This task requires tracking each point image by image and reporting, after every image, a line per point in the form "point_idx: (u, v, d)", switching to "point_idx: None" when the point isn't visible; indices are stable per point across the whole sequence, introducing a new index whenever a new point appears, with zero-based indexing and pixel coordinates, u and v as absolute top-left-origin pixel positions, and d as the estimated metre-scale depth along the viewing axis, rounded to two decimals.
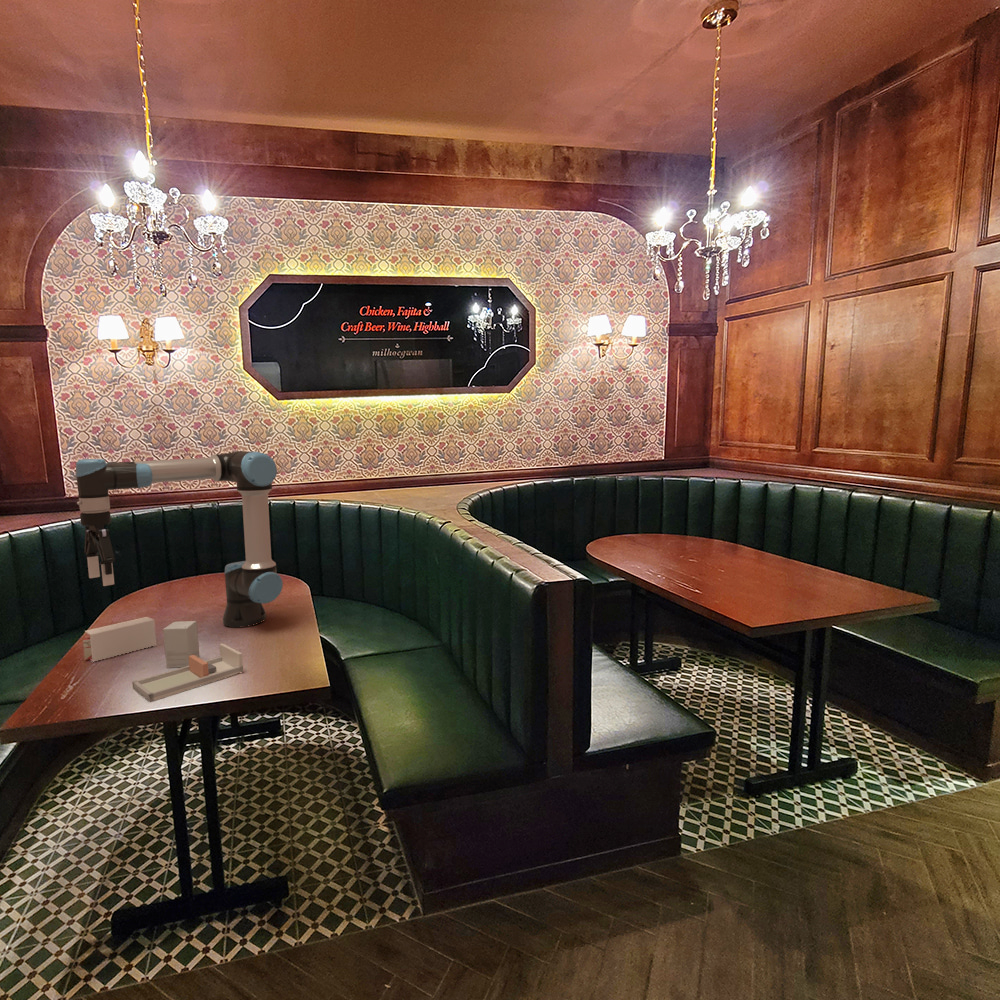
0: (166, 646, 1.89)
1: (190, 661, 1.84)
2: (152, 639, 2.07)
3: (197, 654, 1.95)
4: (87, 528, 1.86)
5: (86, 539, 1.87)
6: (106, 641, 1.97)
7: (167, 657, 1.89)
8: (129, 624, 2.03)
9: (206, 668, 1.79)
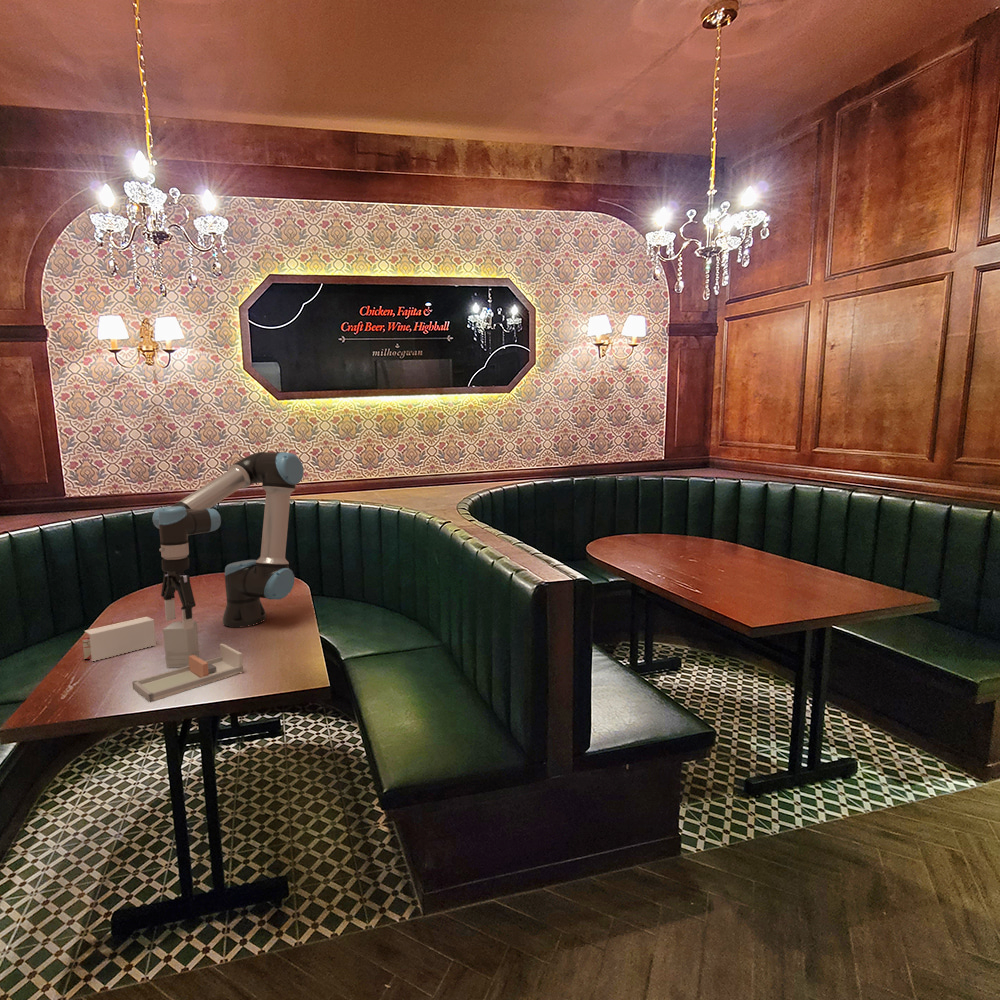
0: (166, 646, 1.89)
1: (190, 661, 1.84)
2: (152, 639, 2.07)
3: (197, 654, 1.95)
4: (166, 572, 1.93)
5: (164, 583, 1.94)
6: (106, 641, 1.97)
7: (167, 657, 1.89)
8: (129, 624, 2.03)
9: (206, 668, 1.79)
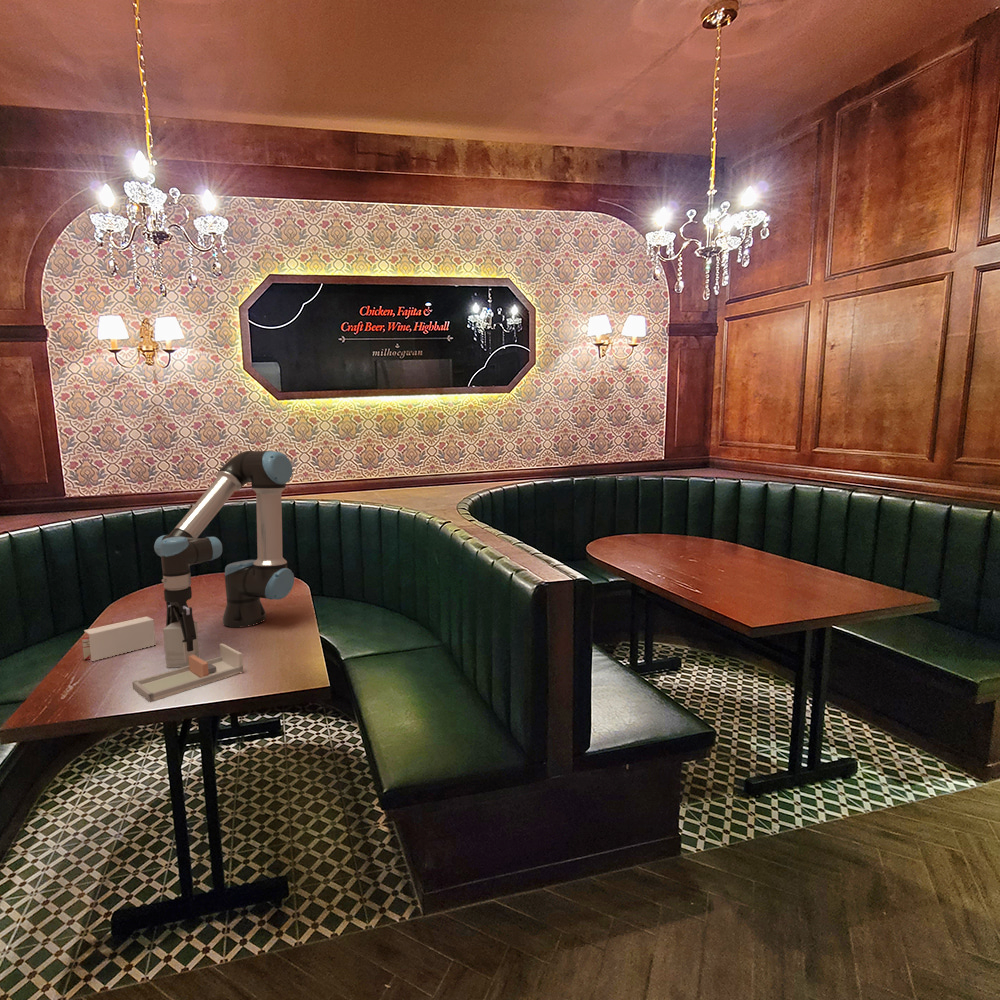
0: (166, 646, 1.89)
1: (190, 661, 1.84)
2: (151, 639, 2.07)
3: (197, 654, 1.95)
4: (168, 603, 1.94)
5: (168, 614, 1.95)
6: (105, 641, 1.97)
7: (167, 657, 1.89)
8: (128, 624, 2.03)
9: (206, 668, 1.79)
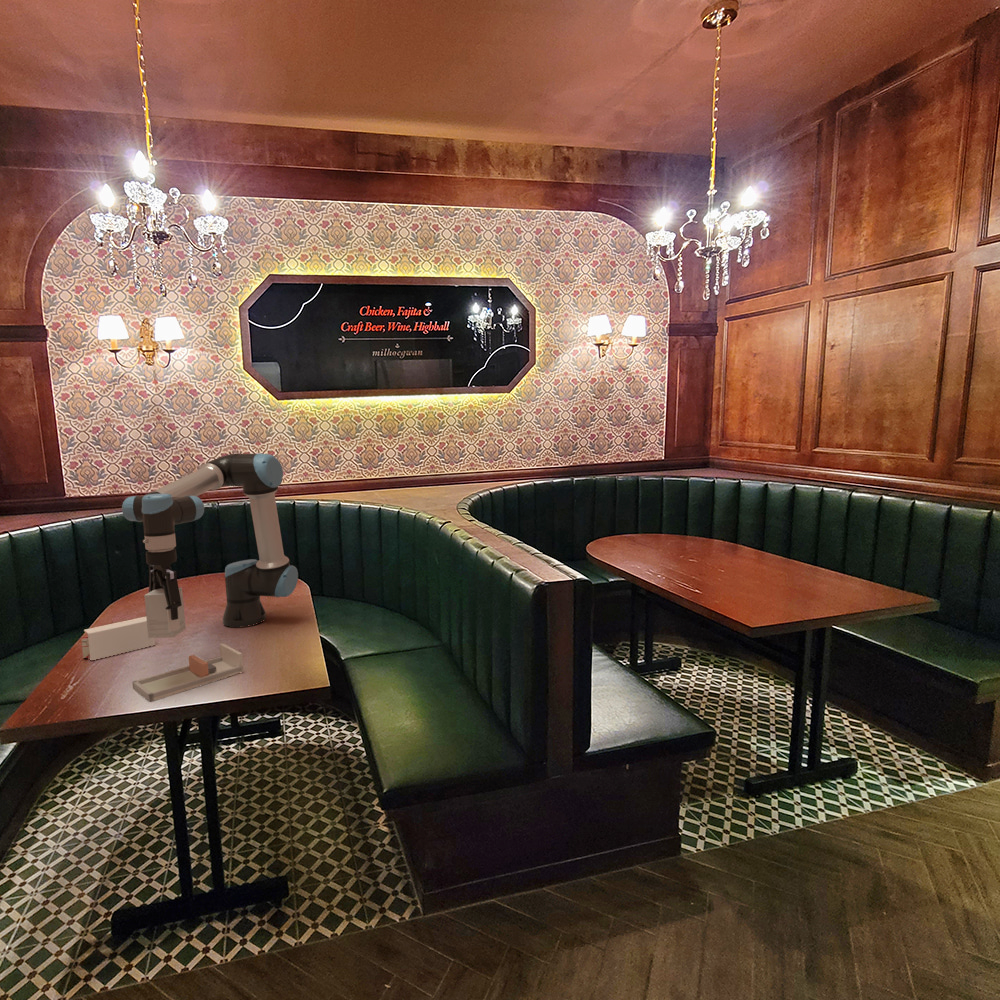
0: (148, 614, 1.70)
1: (190, 661, 1.84)
2: (151, 639, 2.07)
3: (183, 624, 1.77)
4: (151, 568, 1.76)
5: (150, 580, 1.76)
6: (104, 640, 1.97)
7: (149, 626, 1.71)
8: (128, 624, 2.03)
9: (206, 668, 1.79)
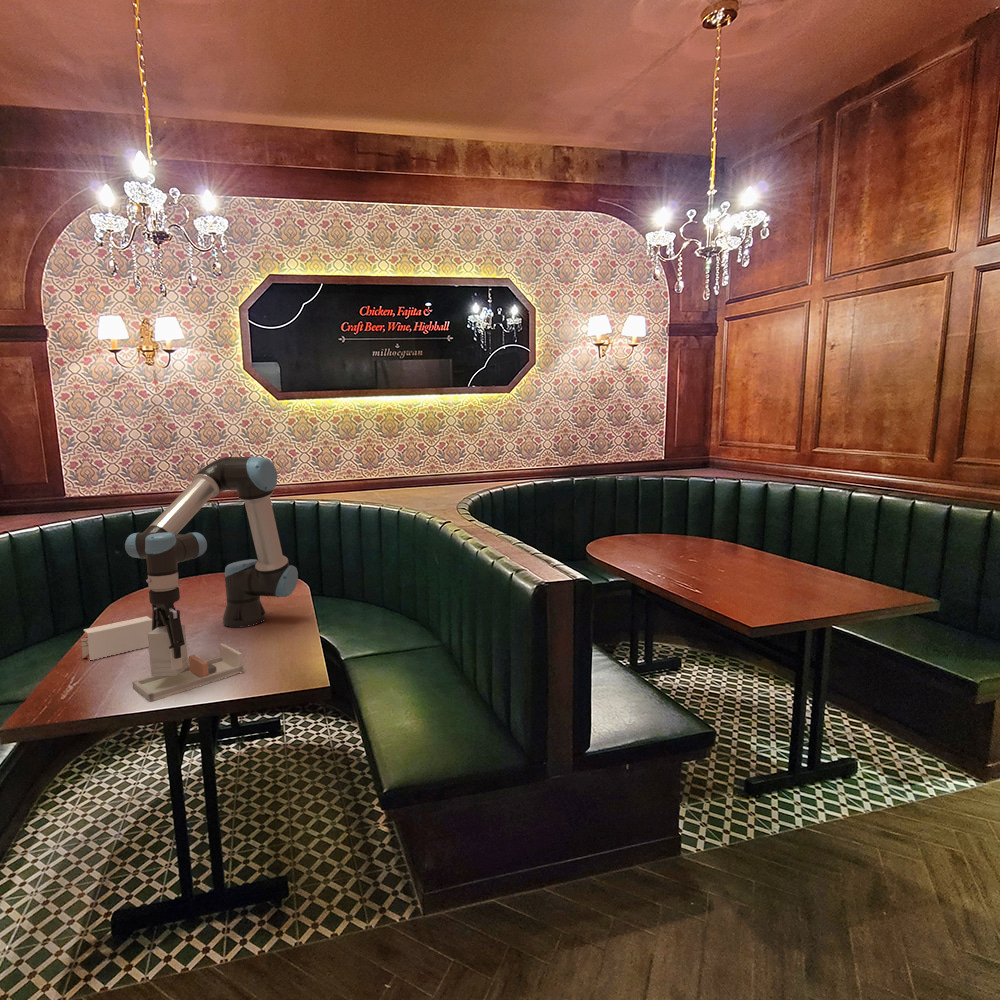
0: (151, 653, 1.72)
1: (190, 661, 1.84)
2: None
3: (185, 661, 1.78)
4: (154, 606, 1.77)
5: (154, 618, 1.78)
6: (104, 640, 1.98)
7: (152, 665, 1.72)
8: (127, 623, 2.03)
9: (206, 668, 1.79)
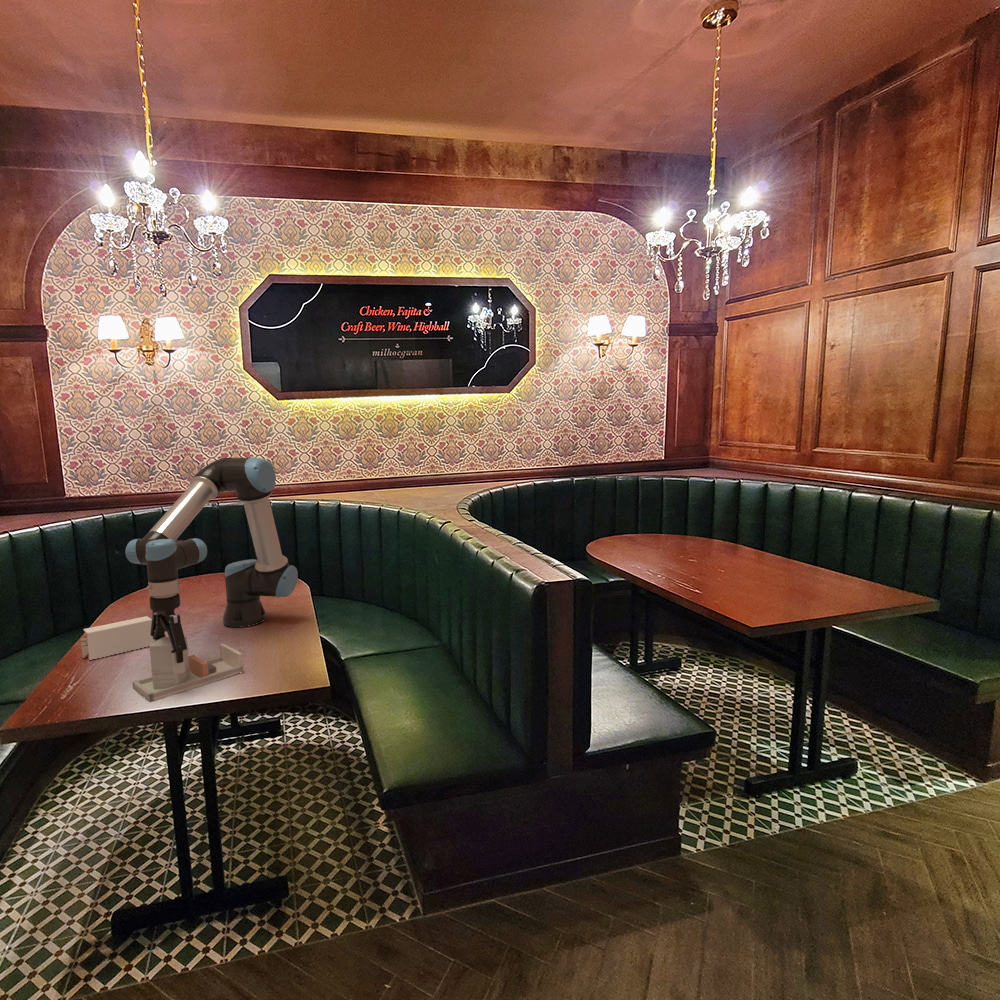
0: (153, 665, 1.72)
1: (190, 661, 1.84)
2: (150, 639, 2.08)
3: (187, 673, 1.78)
4: (154, 610, 1.77)
5: (153, 622, 1.78)
6: (103, 640, 1.98)
7: (154, 677, 1.73)
8: (127, 623, 2.03)
9: (206, 668, 1.79)
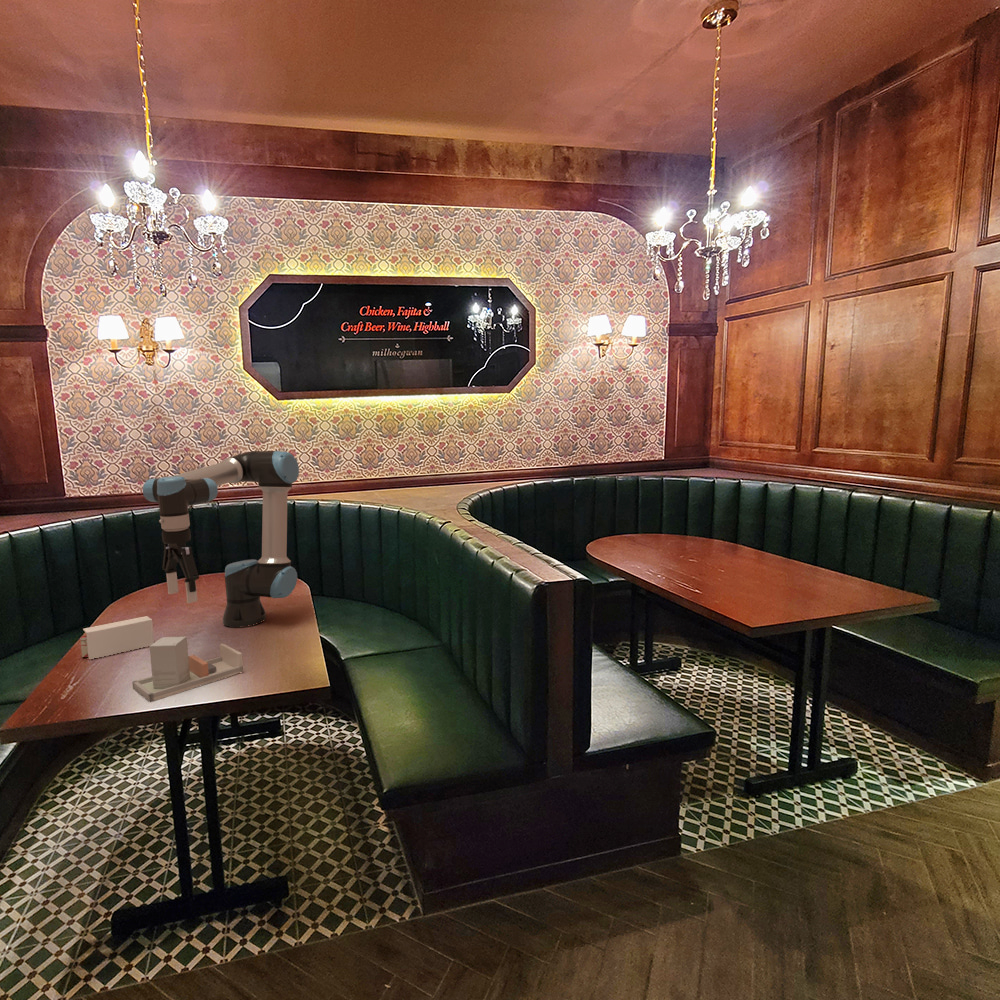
0: (153, 665, 1.72)
1: (190, 661, 1.84)
2: (150, 639, 2.08)
3: (187, 673, 1.78)
4: (166, 545, 1.86)
5: (165, 556, 1.88)
6: (103, 640, 1.98)
7: (154, 677, 1.73)
8: (126, 623, 2.03)
9: (206, 668, 1.79)
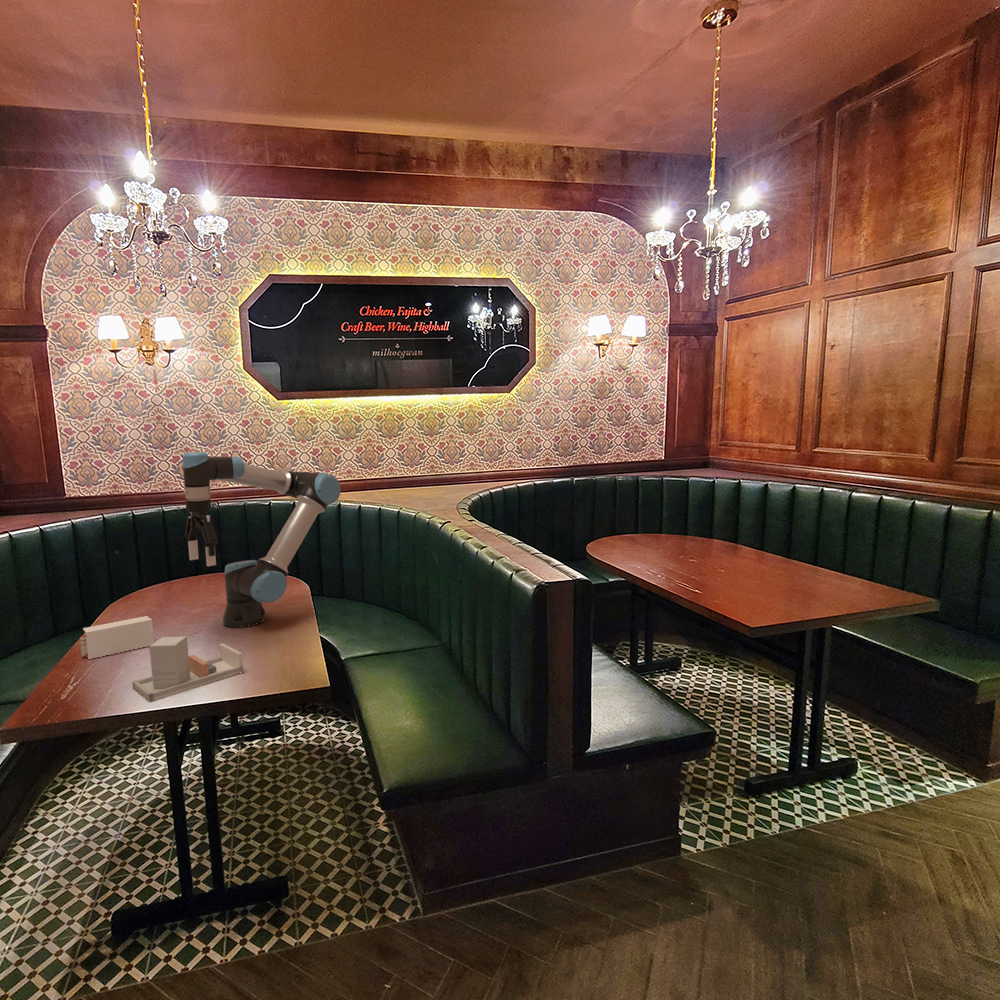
0: (153, 665, 1.72)
1: (190, 661, 1.84)
2: (149, 639, 2.08)
3: (187, 673, 1.78)
4: (189, 515, 2.06)
5: (188, 525, 2.07)
6: (102, 639, 1.98)
7: (154, 677, 1.73)
8: (126, 623, 2.04)
9: (206, 668, 1.79)
